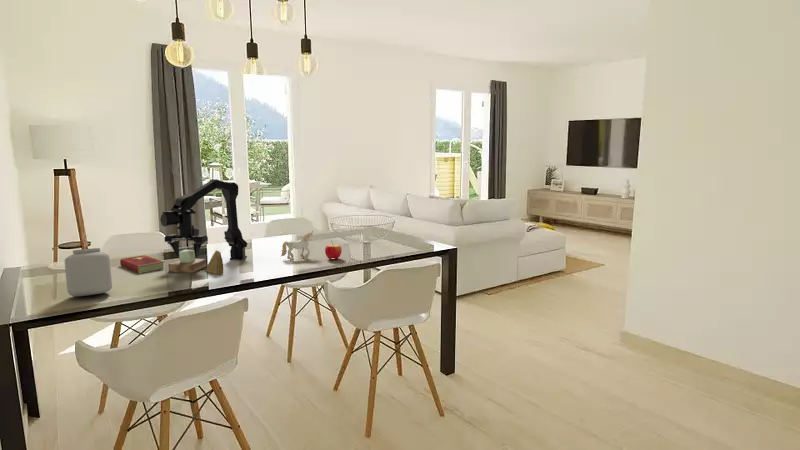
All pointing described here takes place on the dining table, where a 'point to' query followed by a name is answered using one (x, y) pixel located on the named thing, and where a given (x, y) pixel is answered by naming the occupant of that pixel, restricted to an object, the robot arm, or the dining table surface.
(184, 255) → the green cube
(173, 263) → the walnut block
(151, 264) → the hardcover book
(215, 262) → the brown tan chunky block
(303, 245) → the unicorn figurine
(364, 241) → the dining table surface
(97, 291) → the jar
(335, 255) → the apple
